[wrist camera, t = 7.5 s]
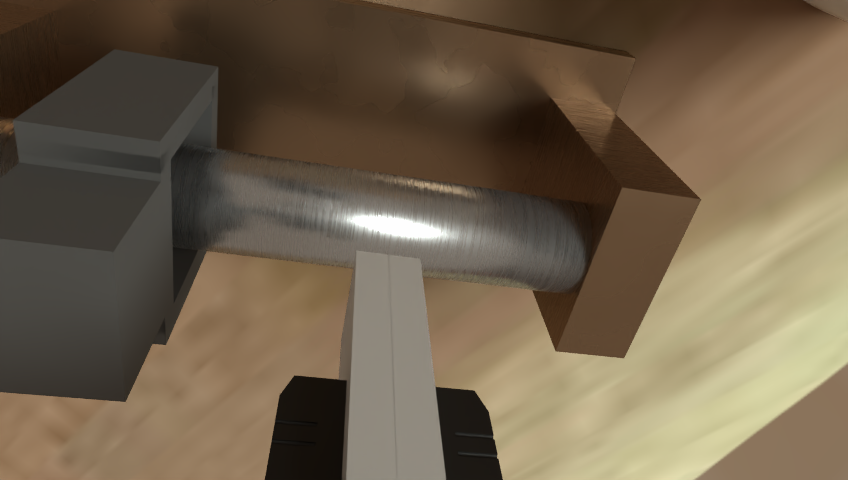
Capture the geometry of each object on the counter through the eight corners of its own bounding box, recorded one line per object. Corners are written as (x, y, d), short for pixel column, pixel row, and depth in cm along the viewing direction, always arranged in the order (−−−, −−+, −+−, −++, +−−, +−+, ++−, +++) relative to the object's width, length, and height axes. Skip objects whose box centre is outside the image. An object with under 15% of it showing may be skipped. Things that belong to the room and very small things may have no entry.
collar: (114, 49, 18) (-76, 181, 10) (218, 66, 18) (109, 205, 11) (126, 221, 21) (-15, 422, 13) (214, 232, 21) (128, 432, 14)
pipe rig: (-29, -75, 19) (-275, -42, 12) (626, 51, 23) (745, 136, 16) (17, 196, 24) (-137, 337, 17) (549, 264, 28) (612, 403, 21)
